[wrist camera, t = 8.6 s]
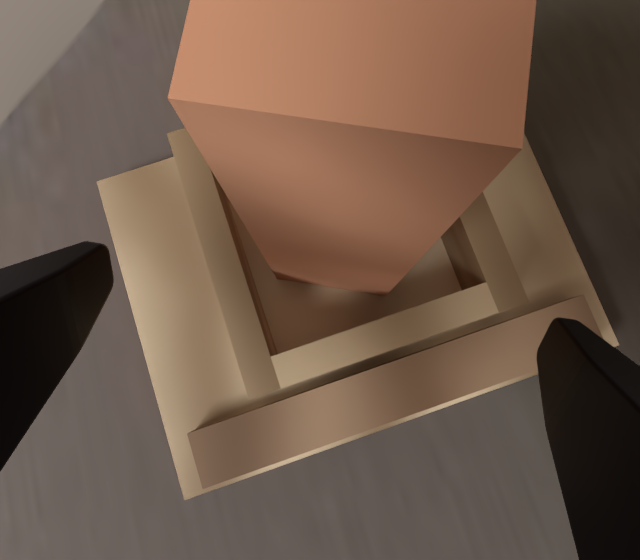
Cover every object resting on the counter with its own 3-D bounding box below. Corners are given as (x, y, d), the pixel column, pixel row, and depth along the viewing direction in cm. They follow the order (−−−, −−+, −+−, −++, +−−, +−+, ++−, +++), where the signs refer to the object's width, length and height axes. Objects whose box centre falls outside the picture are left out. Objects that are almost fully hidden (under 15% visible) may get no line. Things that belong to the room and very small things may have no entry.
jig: (194, 490, 17) (158, 525, 13) (110, 192, 19) (60, 153, 15) (600, 346, 18) (670, 342, 14) (479, 72, 20) (514, 7, 16)
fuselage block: (387, 296, 17) (527, 149, 5) (275, 278, 17) (163, 97, 5) (401, 191, 18) (554, -151, 6) (294, 175, 18) (230, -188, 6)
